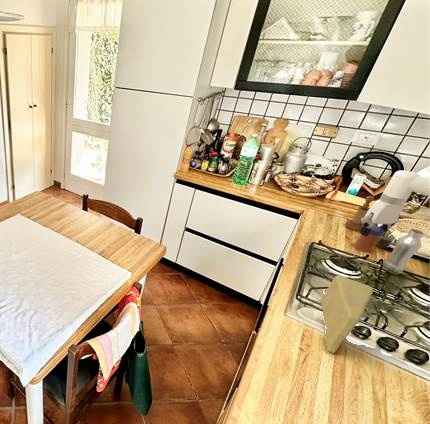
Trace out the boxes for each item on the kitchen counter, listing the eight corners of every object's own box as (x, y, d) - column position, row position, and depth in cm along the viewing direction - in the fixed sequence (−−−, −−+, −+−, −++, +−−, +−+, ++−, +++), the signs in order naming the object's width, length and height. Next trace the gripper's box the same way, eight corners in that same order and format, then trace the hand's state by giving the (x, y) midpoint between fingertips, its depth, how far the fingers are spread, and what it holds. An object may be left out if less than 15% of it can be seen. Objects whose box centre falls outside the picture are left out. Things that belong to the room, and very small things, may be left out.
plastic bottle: (393, 268, 129) (422, 228, 119) (403, 278, 123) (434, 237, 114) (374, 265, 131) (401, 225, 121) (383, 275, 125) (412, 234, 116)
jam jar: (371, 247, 143) (383, 228, 138) (373, 254, 138) (385, 235, 133) (352, 242, 146) (363, 224, 141) (354, 248, 141) (365, 230, 136)
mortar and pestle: (365, 231, 156) (384, 199, 147) (352, 230, 156) (370, 199, 147) (354, 224, 161) (371, 193, 153) (341, 224, 161) (358, 193, 153)
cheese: (351, 363, 90) (378, 328, 83) (310, 343, 96) (332, 309, 88) (352, 319, 105) (375, 286, 97) (317, 304, 110) (336, 272, 103)
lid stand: (386, 245, 144) (391, 237, 142) (388, 249, 141) (393, 241, 139) (373, 242, 147) (378, 234, 145) (374, 246, 144) (379, 238, 141)
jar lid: (361, 225, 141) (363, 222, 141) (381, 229, 138) (383, 227, 138) (365, 232, 136) (367, 229, 136) (385, 236, 133) (387, 233, 133)
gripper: (404, 196, 133) (382, 230, 142) (364, 195, 133) (345, 229, 142) (422, 204, 126) (398, 239, 135) (380, 203, 127) (358, 238, 135)
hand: (371, 234), depth 138 cm, fingers closed on jar lid, 6 cm apart
